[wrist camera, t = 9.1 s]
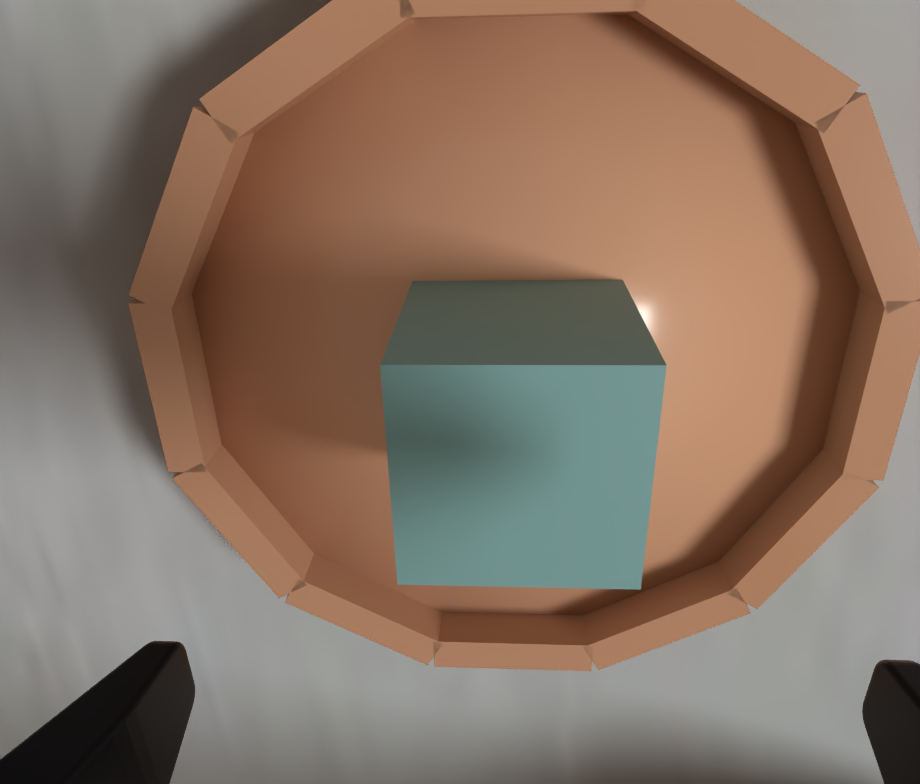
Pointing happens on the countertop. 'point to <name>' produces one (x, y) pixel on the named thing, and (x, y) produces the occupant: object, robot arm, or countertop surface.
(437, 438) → the block
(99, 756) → the robot arm
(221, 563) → the countertop surface
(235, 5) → the countertop surface
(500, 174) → the dish
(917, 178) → the countertop surface
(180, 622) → the countertop surface
